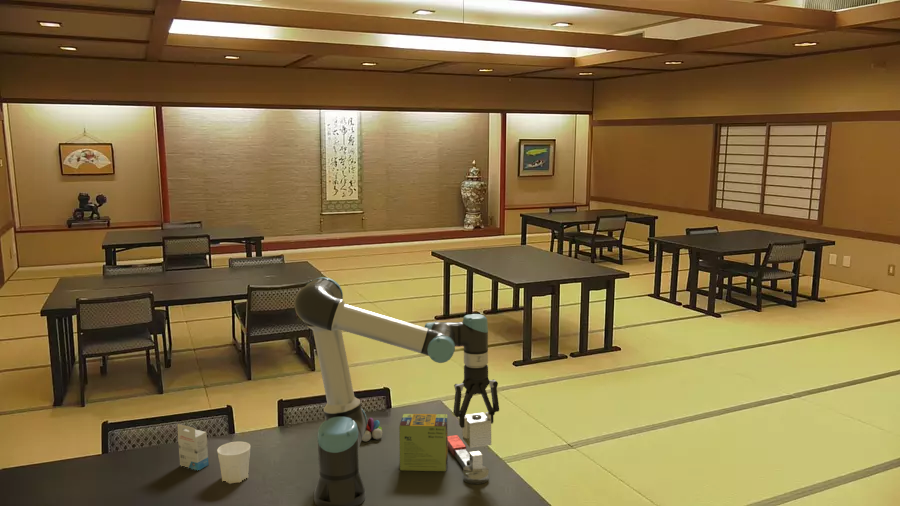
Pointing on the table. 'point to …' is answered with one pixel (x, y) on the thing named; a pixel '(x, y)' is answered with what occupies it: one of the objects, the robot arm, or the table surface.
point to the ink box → (192, 447)
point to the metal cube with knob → (478, 430)
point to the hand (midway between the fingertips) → (476, 434)
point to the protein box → (423, 442)
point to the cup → (234, 461)
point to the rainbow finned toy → (372, 430)
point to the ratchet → (468, 461)
